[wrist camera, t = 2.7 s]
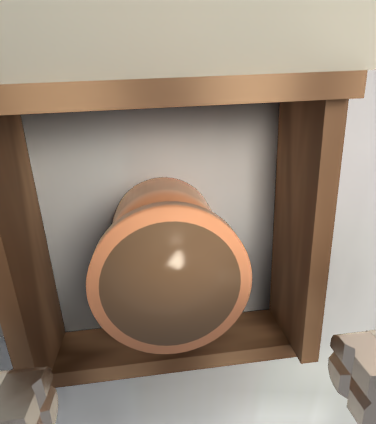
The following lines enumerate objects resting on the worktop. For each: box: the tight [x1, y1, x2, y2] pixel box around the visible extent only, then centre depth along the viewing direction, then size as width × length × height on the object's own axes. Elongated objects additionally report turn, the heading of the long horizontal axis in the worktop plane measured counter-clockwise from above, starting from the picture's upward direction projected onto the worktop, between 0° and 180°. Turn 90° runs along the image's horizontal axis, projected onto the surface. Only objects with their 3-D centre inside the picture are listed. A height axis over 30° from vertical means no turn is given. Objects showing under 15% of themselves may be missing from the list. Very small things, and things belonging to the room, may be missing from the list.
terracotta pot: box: [86, 177, 252, 354], centre depth 16 cm, size 7×7×7 cm
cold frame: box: [0, 70, 367, 388], centre depth 17 cm, size 16×16×6 cm
